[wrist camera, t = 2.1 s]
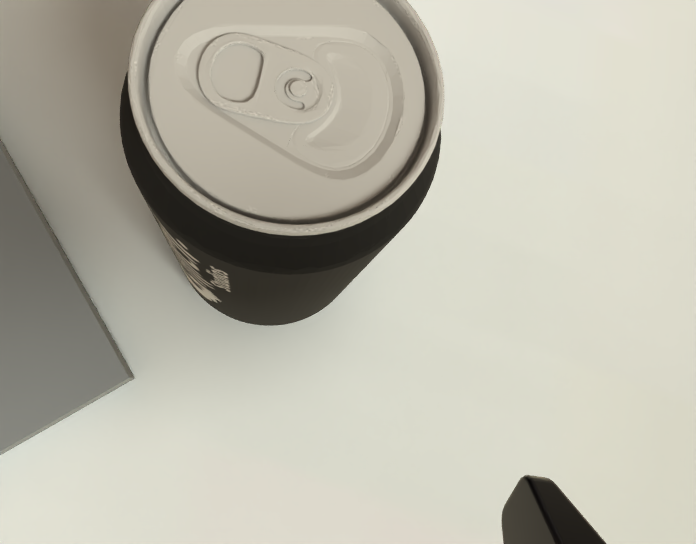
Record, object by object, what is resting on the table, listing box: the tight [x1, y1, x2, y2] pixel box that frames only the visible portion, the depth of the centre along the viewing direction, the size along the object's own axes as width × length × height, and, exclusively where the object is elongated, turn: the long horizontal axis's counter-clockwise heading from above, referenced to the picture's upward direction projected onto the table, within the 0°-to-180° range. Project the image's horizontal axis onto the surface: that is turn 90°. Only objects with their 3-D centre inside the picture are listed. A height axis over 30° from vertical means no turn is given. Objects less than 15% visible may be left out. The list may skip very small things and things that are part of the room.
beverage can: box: [120, 0, 444, 325], centre depth 16 cm, size 7×7×12 cm
